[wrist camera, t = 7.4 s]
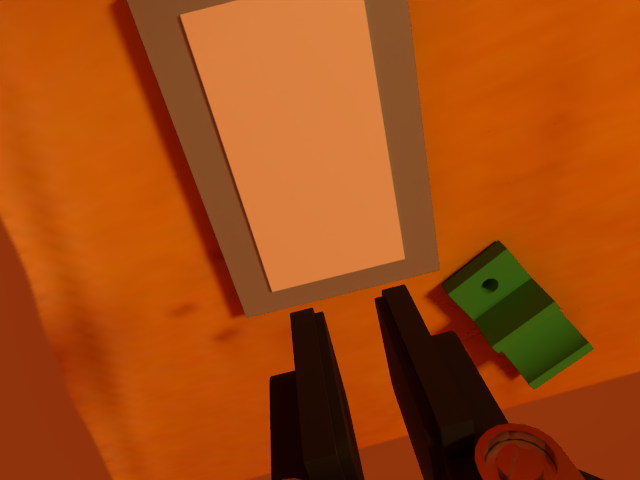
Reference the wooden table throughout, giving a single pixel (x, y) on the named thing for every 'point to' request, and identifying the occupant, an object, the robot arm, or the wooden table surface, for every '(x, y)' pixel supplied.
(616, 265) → the wooden table surface
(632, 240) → the wooden table surface
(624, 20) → the wooden table surface
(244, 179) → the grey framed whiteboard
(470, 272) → the pipe clamp
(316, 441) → the robot arm
